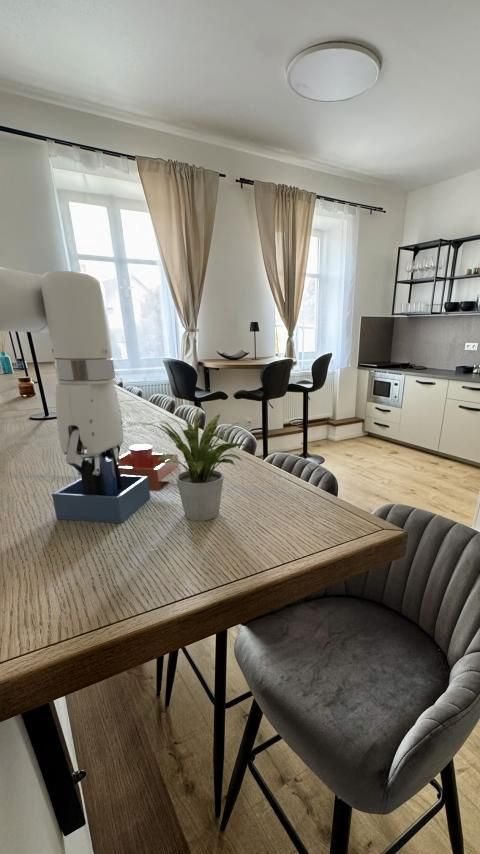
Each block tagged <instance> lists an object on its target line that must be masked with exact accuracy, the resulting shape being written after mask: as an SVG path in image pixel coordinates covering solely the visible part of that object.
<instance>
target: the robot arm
mask: <svg viewBox="0 0 480 854" xmlns="http://www.w3.org/2000/svg"><path fill="white" fill-rule="evenodd" d="M0 332H10V333H11V332H14V333H15V332H21V333H23V332H24V333H35V334H40V333H42V334H49V341H50V345H51V351H52V352H51V353H52V358H53V363H54V369H55V375H56V379H57V383H56V385H55V412H56V413H55V414H56V423H57V432H58V440H59V446H60V449H61V452H62V453H63V454H64V455H66V457H65V462H66V464H67V465H69V466H72V468H73V467H74V469H76V470H77V474H78V475H79V476H81V477H80V478H82V484H83V489H84V495H99V496H106V490H105V484H104V477H103V474H100V461H99V457H101V456H106V457H112V458H113V459H114V466H115V473H116V481H117V488H118V489H120V488H121V487H122V484H121V477H120V469H119V465H116V464H119V463H120V452H121V446H122V445H123V442H124V426H123V419H122V418H123V417H122V411H121V405H120V401H119V396H118V393H117V388H116V384H115V383H117V381H116V373H115V364H114V358H113V350H112V349H113V348H112V341H111V333H110V325H109V316H108V310H107V300H106V291H105V288H104V284H103V282H102V281H101V279H100V278H99V277H97V275H94V274H91V273H88V272H82V271H76V270H75V271H73V270H50V271H47V272H44V274H37V273H33V272H32V273H31V272H28V271H24V270H18V269H12V268H7V267H1V266H0ZM85 450H86V452H85ZM89 458H92V464H91V463H89V462H88V461H86V460H87V459H89Z"/></svg>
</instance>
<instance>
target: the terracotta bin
mask: <svg viewBox="0 0 480 854" xmlns="http://www.w3.org/2000/svg"><path fill="white" fill-rule="evenodd" d="M164 454H165V455H170V456H173V457H175V458H176V459H177V460H179V455H178V454H177V453H176V454H175V453H160V452H159V453H158V452H156V453H155V452H153V460H154V466H156V467H154V468H138V467H132V466H130V465H131V457H130V451H128V452H126V453H124V454H122V455H121V456H120V455H119V457H120V463H119V464H116V465H119V469H120V475H133V476H148V482H149V491H155V492H160V491H161V490H162V489H163V488H164V487H165V486H167V485H168V484H169V483H170V481H169V480H168V481H166V480H165V481H164V480H163V479H164V478H165V477H166V476H167V475H169V474H170V473H172V472H173V471H174V470H175V469H176V468H177V467H179V463H174V462H172V463H164V464H162V463H163V462H165V461H177V460H173V459H165V460H158V458H159V457H160V456H161V455H164ZM157 460H158V461H157ZM177 462H179V461H177Z"/></svg>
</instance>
